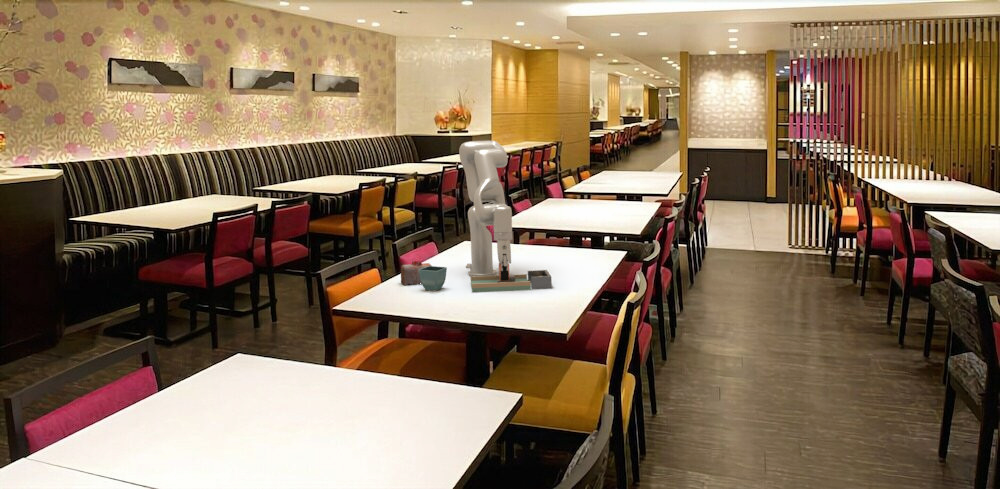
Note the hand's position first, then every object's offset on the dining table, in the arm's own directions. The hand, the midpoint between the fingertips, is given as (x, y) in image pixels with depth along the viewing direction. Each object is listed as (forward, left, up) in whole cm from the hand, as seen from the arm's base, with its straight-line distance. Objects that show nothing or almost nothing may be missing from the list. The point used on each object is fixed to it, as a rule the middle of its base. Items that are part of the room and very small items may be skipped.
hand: (504, 278), depth 317 cm
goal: (+11, +9, -3) cm, 15 cm away
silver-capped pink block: (+1, 0, -2) cm, 2 cm away
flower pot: (-23, -18, -4) cm, 30 cm away
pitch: (-1, -1, -3) cm, 4 cm away
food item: (-38, -12, -4) cm, 40 cm away
